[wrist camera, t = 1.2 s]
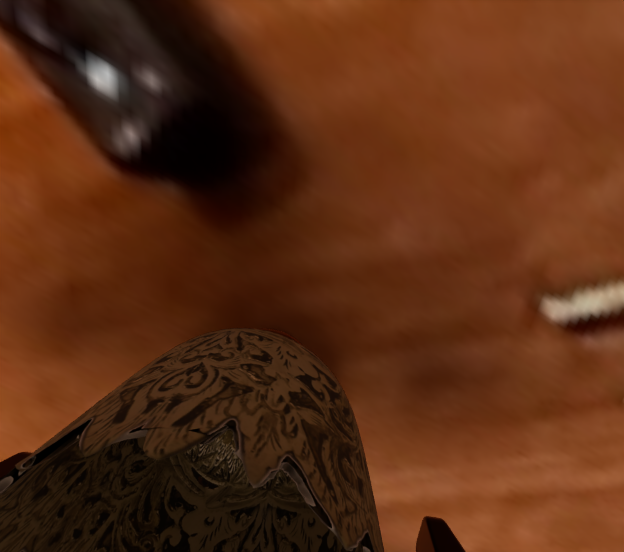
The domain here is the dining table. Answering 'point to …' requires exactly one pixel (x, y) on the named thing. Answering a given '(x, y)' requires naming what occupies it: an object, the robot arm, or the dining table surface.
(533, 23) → the dining table surface
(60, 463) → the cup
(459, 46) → the dining table surface
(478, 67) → the dining table surface
